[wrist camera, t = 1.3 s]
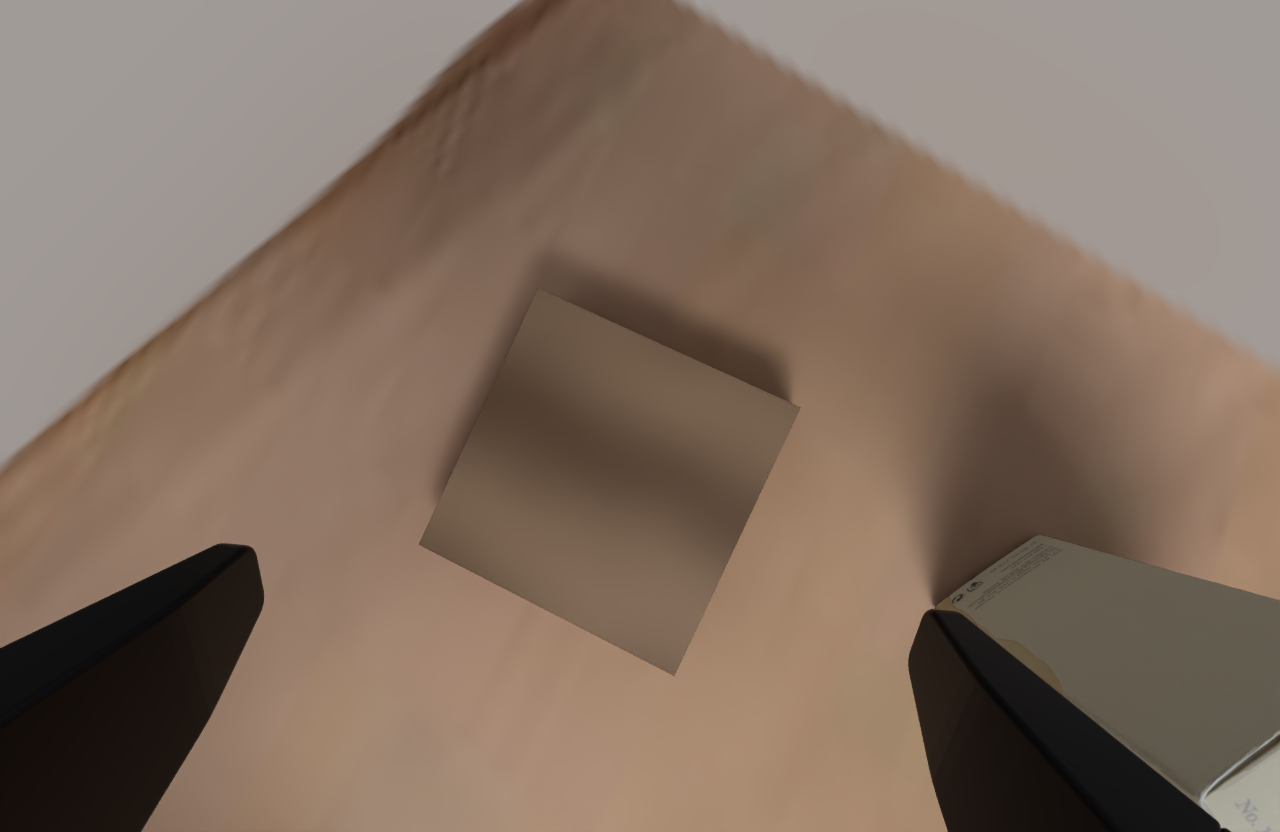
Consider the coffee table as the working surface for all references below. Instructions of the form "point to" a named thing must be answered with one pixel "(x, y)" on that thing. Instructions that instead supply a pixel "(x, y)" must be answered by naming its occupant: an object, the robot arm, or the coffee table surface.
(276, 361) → the coffee table surface
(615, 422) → the walnut plinth
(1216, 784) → the skincare box
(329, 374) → the coffee table surface
